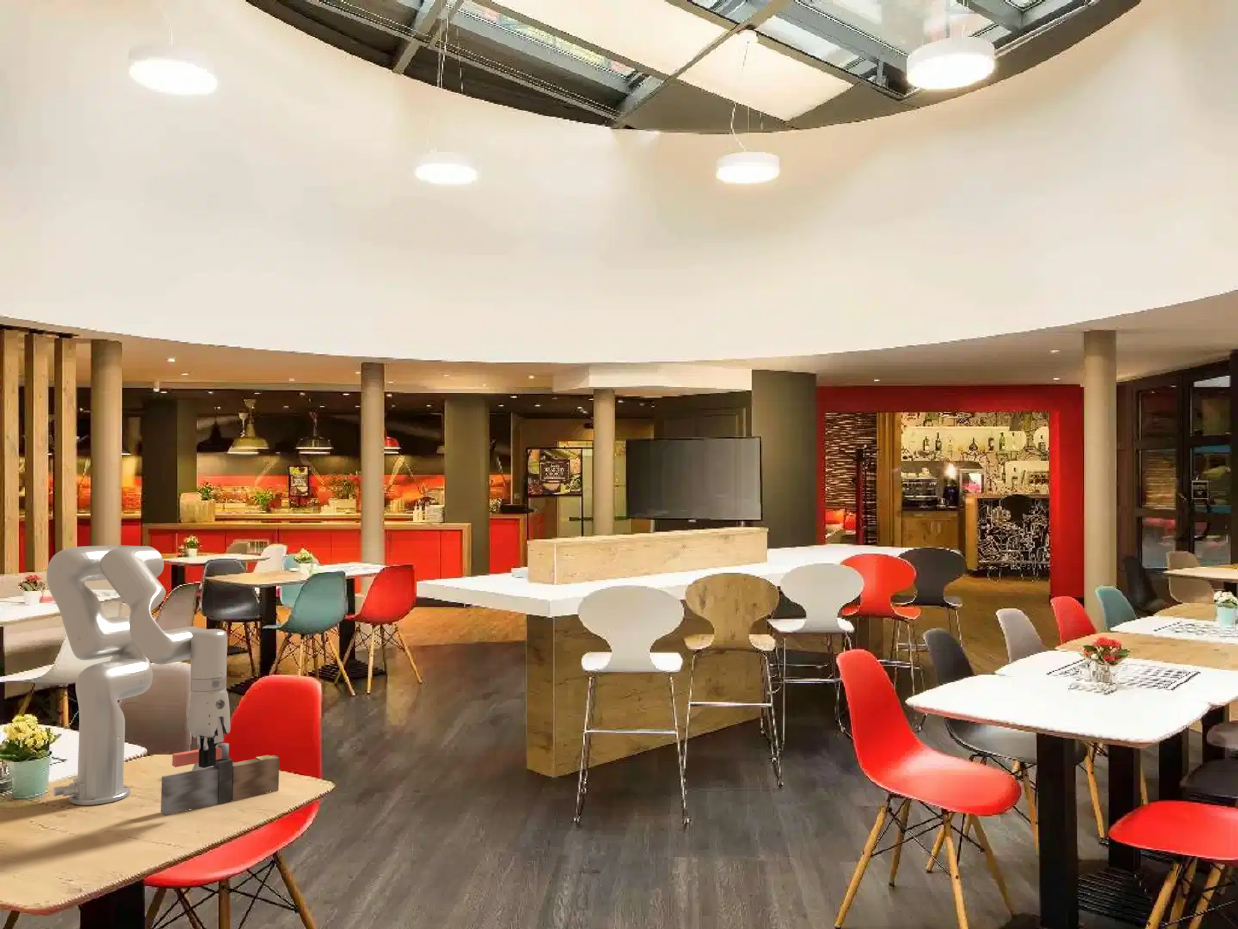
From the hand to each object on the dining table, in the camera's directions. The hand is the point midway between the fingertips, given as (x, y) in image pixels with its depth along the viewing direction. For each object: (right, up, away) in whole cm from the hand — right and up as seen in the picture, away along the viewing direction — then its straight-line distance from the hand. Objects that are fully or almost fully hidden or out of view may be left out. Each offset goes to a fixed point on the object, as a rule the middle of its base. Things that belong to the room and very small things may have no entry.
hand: (207, 766), depth 207 cm
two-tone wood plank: (0, -11, +8) cm, 13 cm away
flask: (-14, -12, +30) cm, 36 cm away
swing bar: (-3, -1, +5) cm, 6 cm away
